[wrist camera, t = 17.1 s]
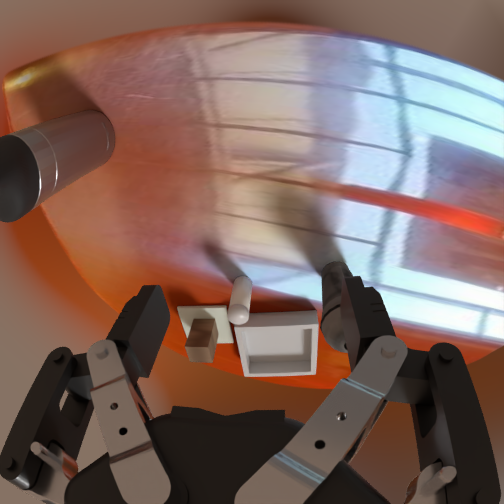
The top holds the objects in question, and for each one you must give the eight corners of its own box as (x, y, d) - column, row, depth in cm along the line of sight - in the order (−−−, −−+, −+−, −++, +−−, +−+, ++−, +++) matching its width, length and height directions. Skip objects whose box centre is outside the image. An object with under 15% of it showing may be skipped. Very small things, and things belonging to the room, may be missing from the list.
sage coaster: (189, 340, 58) (188, 342, 58) (177, 306, 54) (176, 308, 53) (234, 340, 57) (233, 343, 57) (226, 305, 53) (225, 307, 52)
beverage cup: (303, 275, 49) (312, 378, 31) (336, 245, 45) (365, 343, 28) (334, 298, 51) (352, 398, 33) (366, 271, 47) (400, 368, 30)
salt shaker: (234, 291, 51) (228, 324, 44) (232, 275, 50) (225, 308, 43) (253, 291, 51) (249, 324, 44) (251, 275, 49) (247, 308, 42)
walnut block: (198, 333, 56) (190, 361, 50) (193, 318, 54) (184, 346, 48) (218, 334, 56) (212, 362, 50) (215, 318, 54) (208, 347, 48)
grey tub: (246, 363, 61) (244, 376, 58) (236, 313, 54) (234, 327, 51) (314, 360, 59) (315, 374, 56) (316, 310, 52) (318, 323, 49)
